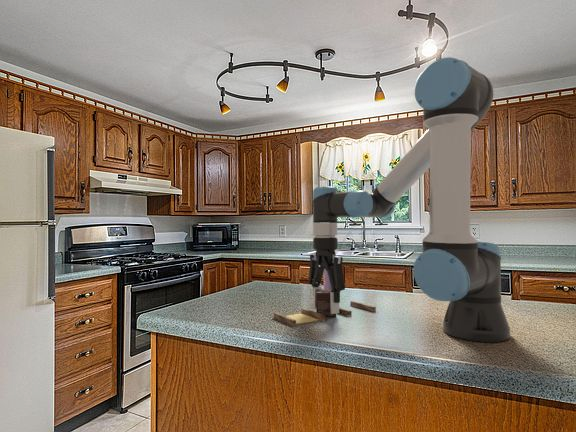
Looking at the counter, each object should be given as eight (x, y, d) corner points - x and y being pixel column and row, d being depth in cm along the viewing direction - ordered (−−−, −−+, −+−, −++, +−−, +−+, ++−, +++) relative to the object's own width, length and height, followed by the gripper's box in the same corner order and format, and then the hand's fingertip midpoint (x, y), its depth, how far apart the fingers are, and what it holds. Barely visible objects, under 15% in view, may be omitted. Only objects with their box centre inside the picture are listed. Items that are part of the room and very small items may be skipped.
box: (335, 312, 116) (335, 289, 117) (336, 317, 110) (336, 292, 111) (316, 312, 117) (316, 289, 117) (316, 317, 111) (315, 292, 111)
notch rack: (375, 311, 117) (375, 306, 117) (293, 326, 101) (292, 320, 101) (352, 305, 126) (352, 300, 126) (273, 317, 110) (273, 312, 110)
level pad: (318, 320, 107) (318, 319, 107) (296, 324, 103) (296, 323, 103) (301, 314, 114) (301, 313, 114) (280, 317, 110) (280, 316, 110)
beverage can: (340, 299, 136) (340, 258, 136) (324, 299, 136) (324, 259, 136) (338, 296, 142) (338, 257, 142) (323, 296, 142) (322, 257, 142)
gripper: (357, 237, 107) (358, 315, 107) (315, 235, 125) (316, 302, 125) (337, 238, 103) (337, 319, 103) (296, 236, 121) (297, 305, 121)
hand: (326, 310), depth 114 cm, fingers closed on box, 8 cm apart
